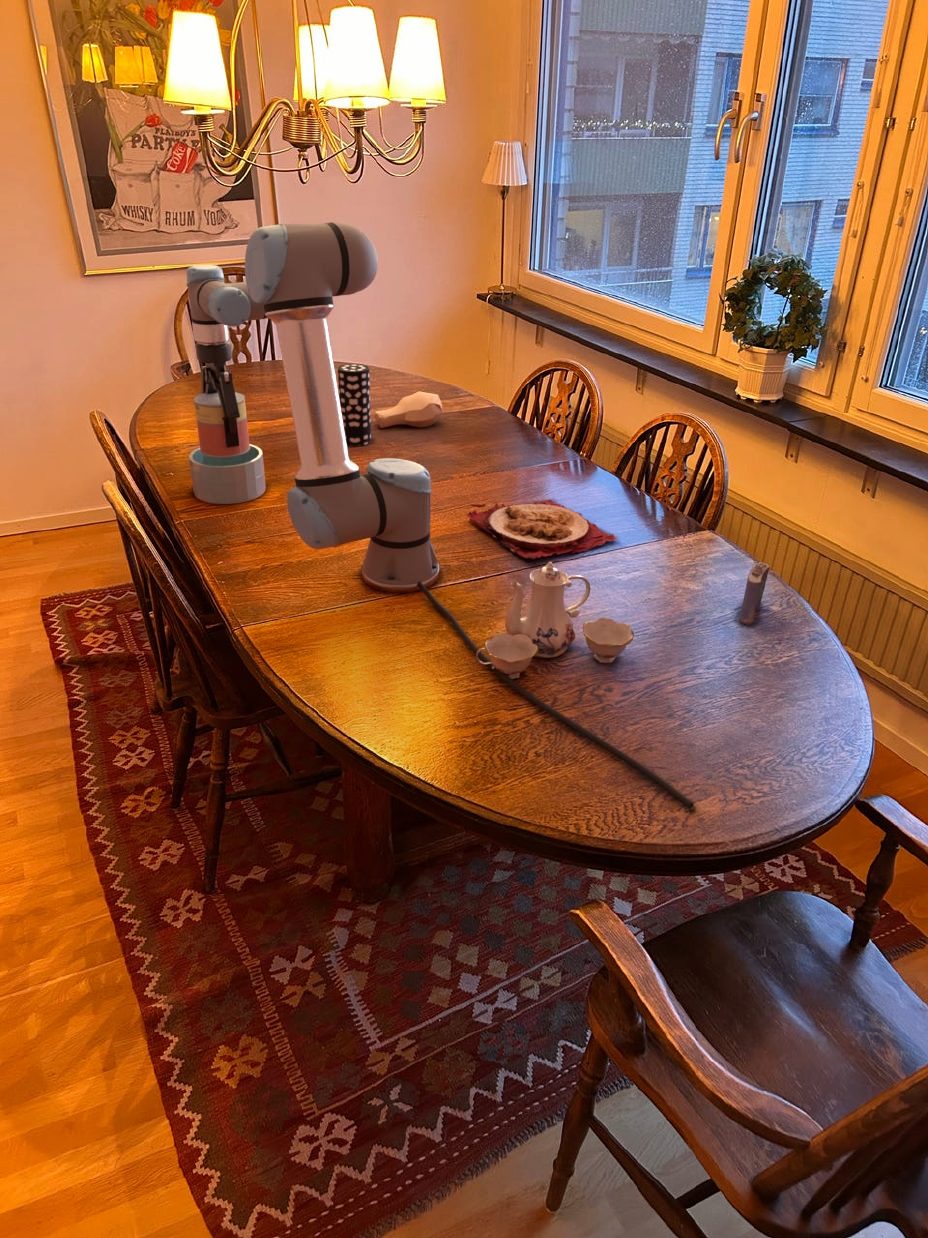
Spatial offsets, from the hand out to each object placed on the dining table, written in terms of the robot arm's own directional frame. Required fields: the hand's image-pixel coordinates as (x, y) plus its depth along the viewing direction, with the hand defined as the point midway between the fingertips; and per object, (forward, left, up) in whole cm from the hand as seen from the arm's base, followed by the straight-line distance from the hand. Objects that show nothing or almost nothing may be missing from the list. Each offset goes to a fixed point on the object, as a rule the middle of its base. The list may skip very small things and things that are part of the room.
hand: (224, 438), depth 201 cm
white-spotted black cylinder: (+17, -42, -13) cm, 47 cm away
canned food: (0, 0, -3) cm, 3 cm away
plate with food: (-55, -51, -13) cm, 76 cm away
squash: (+22, -62, -13) cm, 67 cm away
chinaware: (-96, -22, -13) cm, 99 cm away
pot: (0, 0, -13) cm, 13 cm away
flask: (-104, -63, -13) cm, 122 cm away
